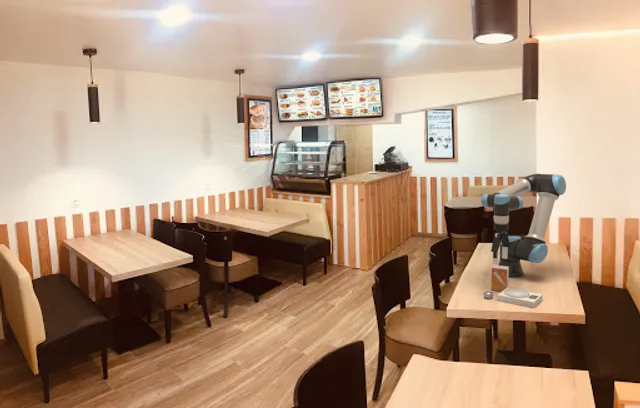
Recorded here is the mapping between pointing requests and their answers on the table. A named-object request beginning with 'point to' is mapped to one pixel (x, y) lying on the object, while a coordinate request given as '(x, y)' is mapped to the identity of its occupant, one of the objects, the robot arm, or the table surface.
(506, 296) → the scale
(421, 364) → the table surface
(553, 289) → the table surface
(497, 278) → the small box
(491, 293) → the spacer
